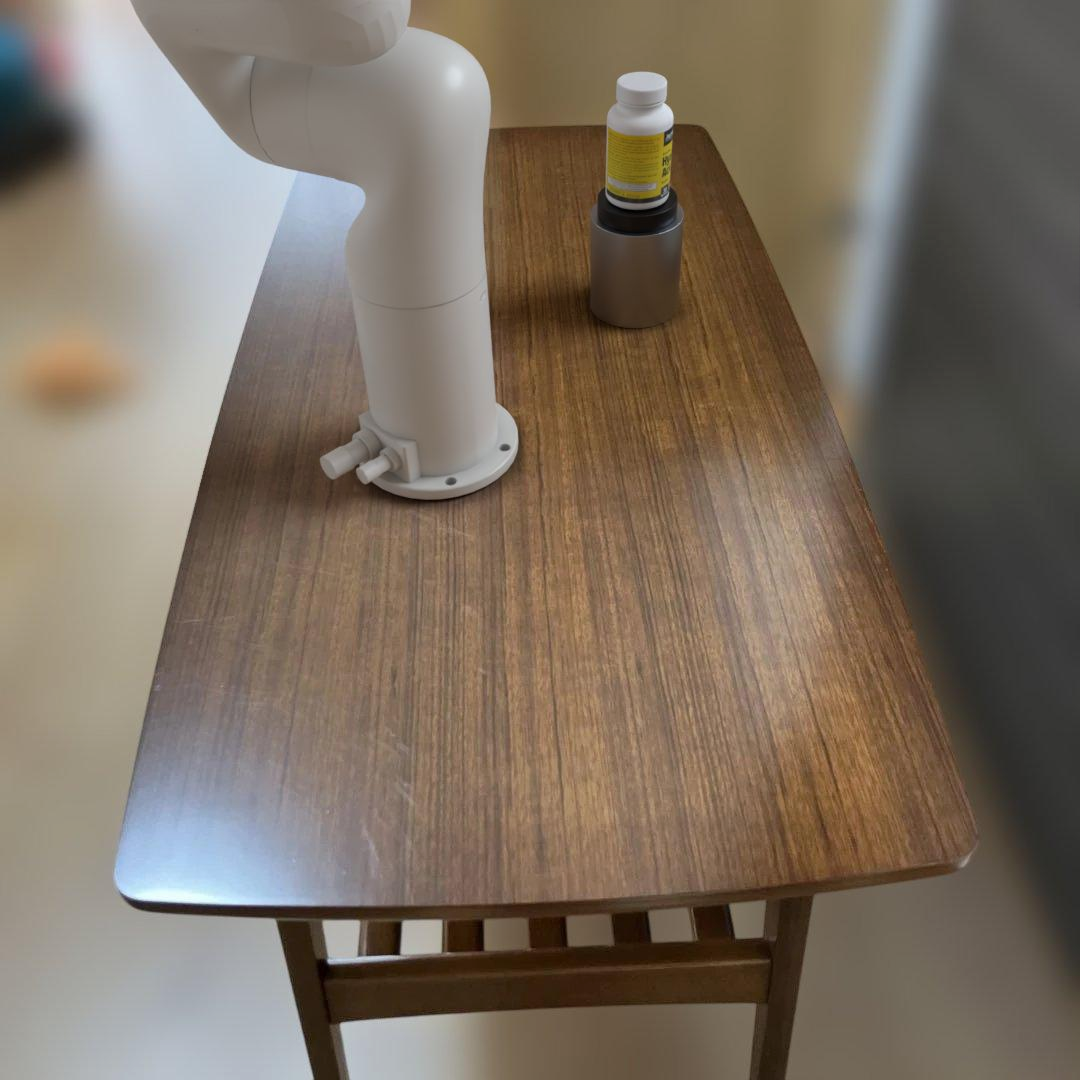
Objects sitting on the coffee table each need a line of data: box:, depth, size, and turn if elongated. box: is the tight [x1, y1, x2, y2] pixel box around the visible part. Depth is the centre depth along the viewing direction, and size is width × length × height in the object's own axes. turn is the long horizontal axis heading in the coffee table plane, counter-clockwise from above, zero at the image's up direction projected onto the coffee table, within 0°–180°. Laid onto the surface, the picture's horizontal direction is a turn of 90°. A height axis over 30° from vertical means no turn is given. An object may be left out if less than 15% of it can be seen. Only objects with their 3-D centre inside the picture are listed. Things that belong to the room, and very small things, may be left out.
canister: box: [589, 186, 685, 329], centre depth 98 cm, size 8×8×10 cm
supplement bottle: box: [605, 71, 675, 210], centre depth 91 cm, size 5×5×10 cm
